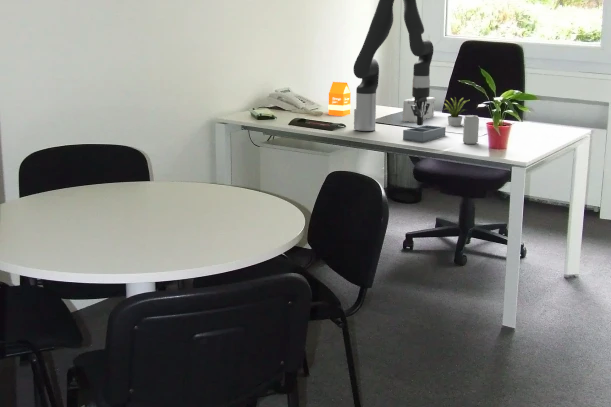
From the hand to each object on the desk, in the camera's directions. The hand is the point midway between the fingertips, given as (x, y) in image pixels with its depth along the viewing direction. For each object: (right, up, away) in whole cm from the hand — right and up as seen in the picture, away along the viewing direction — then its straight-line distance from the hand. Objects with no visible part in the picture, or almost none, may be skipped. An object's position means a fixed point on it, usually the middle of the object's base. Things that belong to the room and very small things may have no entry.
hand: (419, 125), depth 354 cm
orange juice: (-33, +8, +61) cm, 70 cm away
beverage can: (+21, -9, -7) cm, 24 cm away
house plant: (+23, +1, +33) cm, 41 cm away
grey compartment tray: (+3, -5, +5) cm, 8 cm away
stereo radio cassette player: (+7, +5, +49) cm, 50 cm away
